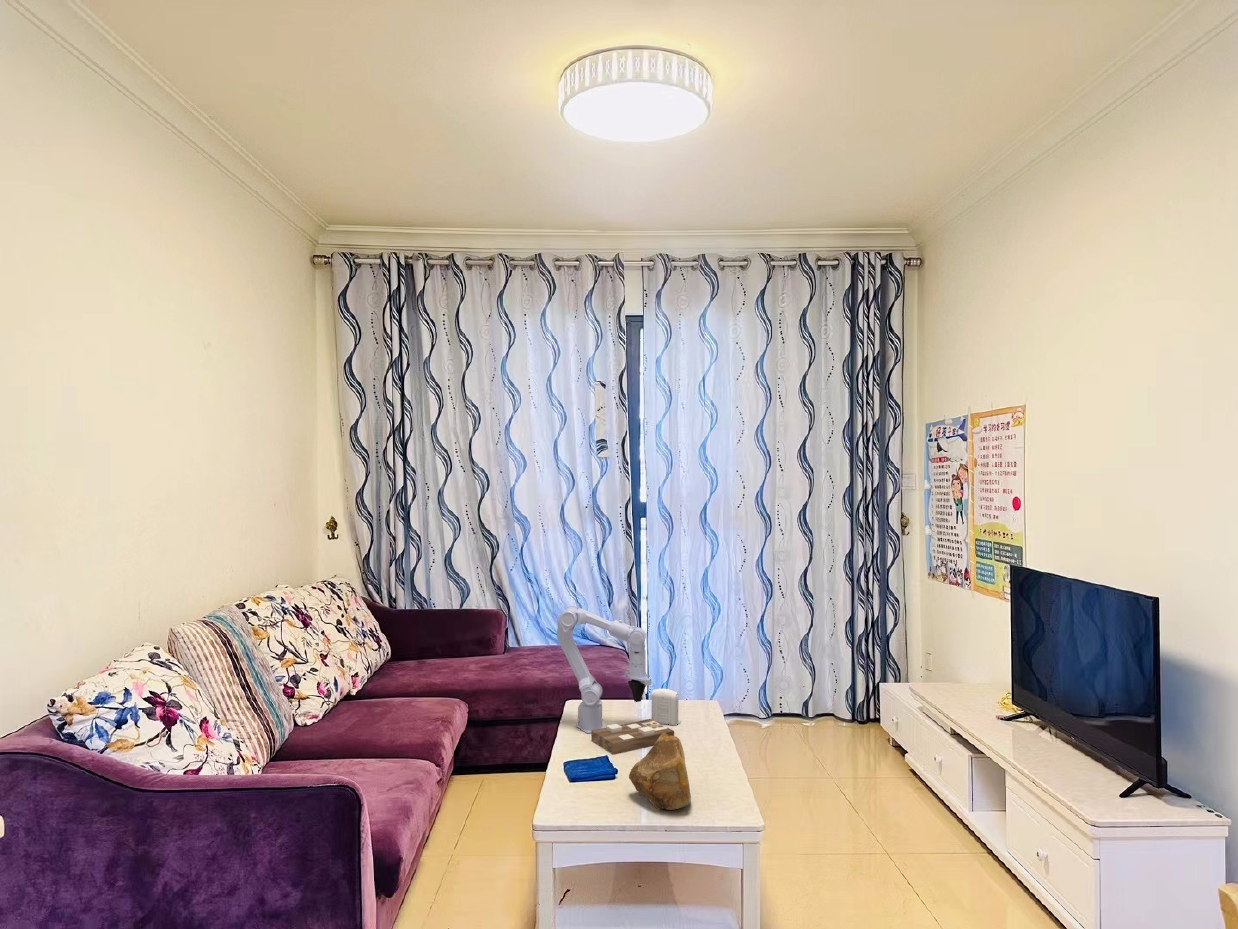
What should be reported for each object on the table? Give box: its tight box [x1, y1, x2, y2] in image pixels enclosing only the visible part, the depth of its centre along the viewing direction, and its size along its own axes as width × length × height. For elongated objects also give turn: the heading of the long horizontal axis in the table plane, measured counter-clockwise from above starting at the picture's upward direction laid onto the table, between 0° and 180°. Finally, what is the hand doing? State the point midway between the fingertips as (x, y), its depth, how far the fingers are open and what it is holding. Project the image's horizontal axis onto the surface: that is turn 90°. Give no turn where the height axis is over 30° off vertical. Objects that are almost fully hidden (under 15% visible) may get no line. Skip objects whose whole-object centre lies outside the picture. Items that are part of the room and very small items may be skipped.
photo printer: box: [651, 688, 679, 726], centre depth 274 cm, size 10×4×12 cm, turn 67°
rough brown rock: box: [628, 733, 692, 811], centre depth 210 cm, size 23×17×15 cm
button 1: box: [605, 723, 622, 733], centre depth 256 cm, size 4×4×1 cm
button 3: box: [626, 723, 642, 729], centre depth 260 cm, size 4×4×1 cm
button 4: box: [638, 726, 655, 736], centre depth 253 cm, size 4×4×1 cm
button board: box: [590, 718, 675, 755], centre depth 255 cm, size 15×24×4 cm, turn 120°
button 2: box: [618, 734, 634, 740], centre depth 249 cm, size 4×4×1 cm
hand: (637, 701), depth 265 cm, fingers closed
